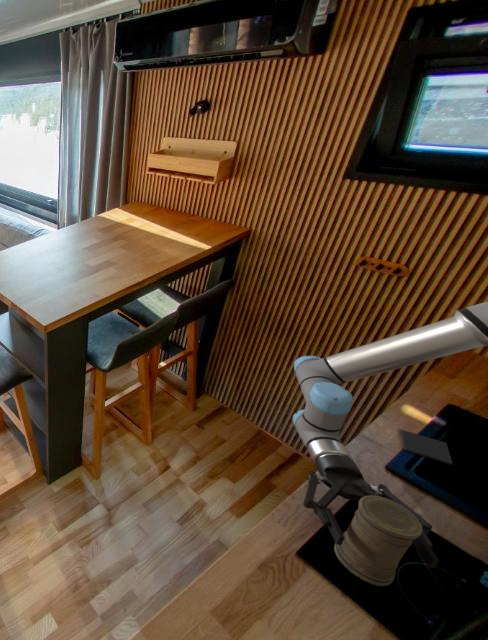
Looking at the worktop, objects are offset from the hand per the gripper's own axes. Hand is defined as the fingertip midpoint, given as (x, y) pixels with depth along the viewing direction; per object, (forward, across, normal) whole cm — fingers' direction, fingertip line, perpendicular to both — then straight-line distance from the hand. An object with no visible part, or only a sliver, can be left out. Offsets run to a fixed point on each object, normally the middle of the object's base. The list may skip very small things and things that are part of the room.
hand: (385, 552), depth 74 cm
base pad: (-42, -28, -10) cm, 52 cm away
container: (-3, 0, -10) cm, 11 cm away
